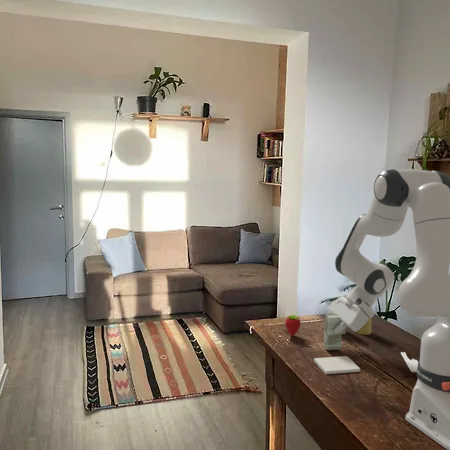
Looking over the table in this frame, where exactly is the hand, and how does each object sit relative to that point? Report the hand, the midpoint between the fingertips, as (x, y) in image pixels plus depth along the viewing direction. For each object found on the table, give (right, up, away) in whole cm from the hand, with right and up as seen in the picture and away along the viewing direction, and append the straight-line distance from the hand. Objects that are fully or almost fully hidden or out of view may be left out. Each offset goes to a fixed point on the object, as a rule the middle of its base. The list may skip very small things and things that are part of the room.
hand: (331, 329), depth 165 cm
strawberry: (-12, -6, +14) cm, 20 cm away
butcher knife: (+26, -10, -9) cm, 29 cm away
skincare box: (+7, -6, +20) cm, 22 cm away
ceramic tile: (-1, -10, -12) cm, 15 cm away
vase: (+18, -6, +19) cm, 27 cm away
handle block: (+1, -7, +1) cm, 7 cm away
